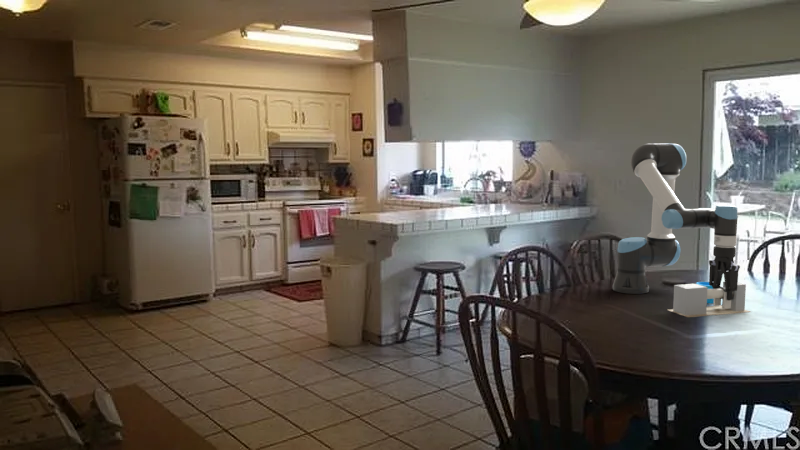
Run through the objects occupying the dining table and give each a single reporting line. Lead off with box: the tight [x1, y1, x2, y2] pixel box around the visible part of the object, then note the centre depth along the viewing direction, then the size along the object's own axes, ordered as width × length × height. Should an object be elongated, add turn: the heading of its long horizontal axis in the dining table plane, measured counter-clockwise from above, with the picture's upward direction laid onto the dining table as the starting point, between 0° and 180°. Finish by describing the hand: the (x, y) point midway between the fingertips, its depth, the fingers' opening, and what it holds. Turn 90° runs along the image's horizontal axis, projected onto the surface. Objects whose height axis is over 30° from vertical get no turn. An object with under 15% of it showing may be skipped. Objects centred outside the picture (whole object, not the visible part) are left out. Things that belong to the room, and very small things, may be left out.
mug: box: [695, 281, 714, 304], centre depth 259 cm, size 12×8×8 cm
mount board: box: [668, 304, 752, 318], centre depth 242 cm, size 12×28×1 cm, turn 104°
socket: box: [721, 281, 747, 311], centre depth 244 cm, size 4×7×10 cm, turn 14°
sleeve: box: [672, 283, 708, 316], centre depth 240 cm, size 9×7×10 cm
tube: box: [707, 286, 734, 300], centre depth 242 cm, size 18×4×4 cm, turn 104°
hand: (721, 306), depth 244 cm, fingers closed on tube, 4 cm apart
